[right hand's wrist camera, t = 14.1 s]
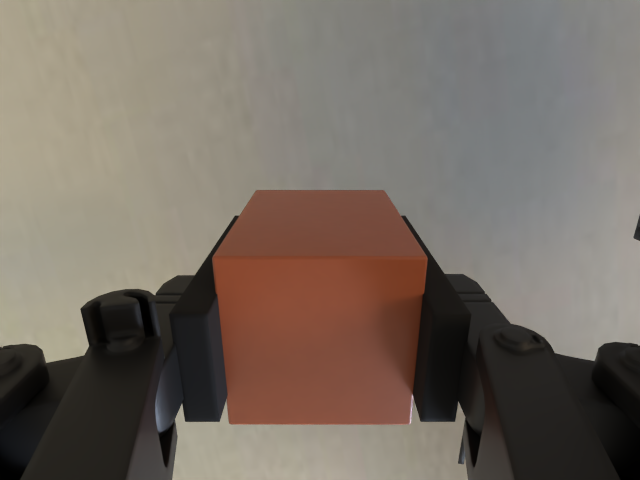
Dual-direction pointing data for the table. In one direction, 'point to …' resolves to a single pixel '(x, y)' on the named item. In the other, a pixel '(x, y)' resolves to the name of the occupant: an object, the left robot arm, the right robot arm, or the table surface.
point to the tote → (637, 230)
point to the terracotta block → (320, 309)
